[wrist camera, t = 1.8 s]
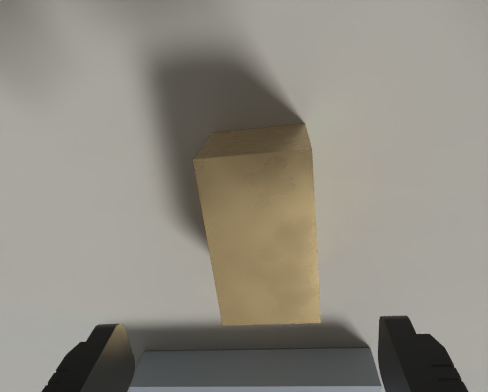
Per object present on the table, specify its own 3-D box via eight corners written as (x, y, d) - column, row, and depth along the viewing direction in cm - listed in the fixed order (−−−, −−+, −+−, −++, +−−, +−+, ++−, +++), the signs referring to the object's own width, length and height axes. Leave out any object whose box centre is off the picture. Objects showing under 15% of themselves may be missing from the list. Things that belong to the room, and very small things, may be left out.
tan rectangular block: (305, 123, 20) (311, 148, 15) (312, 266, 23) (320, 323, 18) (212, 132, 20) (192, 159, 16) (234, 269, 24) (222, 325, 19)
